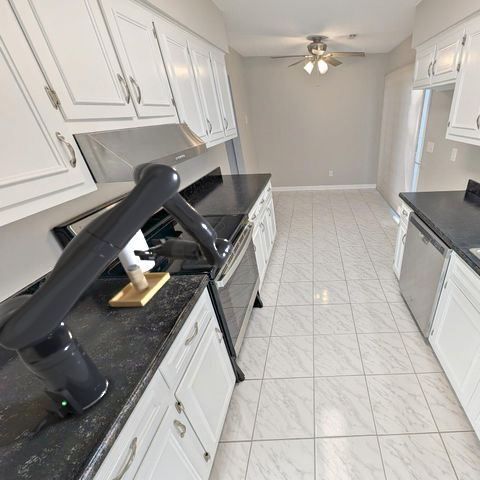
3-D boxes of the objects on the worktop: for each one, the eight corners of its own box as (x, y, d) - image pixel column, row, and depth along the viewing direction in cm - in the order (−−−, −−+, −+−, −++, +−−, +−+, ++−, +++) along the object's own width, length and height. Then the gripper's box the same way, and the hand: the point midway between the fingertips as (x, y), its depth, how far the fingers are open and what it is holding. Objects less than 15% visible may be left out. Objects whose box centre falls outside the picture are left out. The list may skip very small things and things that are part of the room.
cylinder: (123, 268, 128) (100, 223, 116) (150, 258, 136) (131, 215, 124) (130, 277, 120) (106, 230, 109) (158, 265, 128) (139, 220, 117)
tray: (143, 306, 102) (140, 301, 100) (111, 306, 103) (108, 301, 101) (170, 277, 119) (168, 272, 118) (142, 277, 120) (140, 273, 119)
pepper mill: (143, 293, 108) (131, 270, 102) (133, 292, 109) (121, 269, 103) (152, 286, 112) (141, 263, 107) (142, 285, 113) (132, 263, 108)
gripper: (189, 232, 99) (154, 230, 102) (162, 250, 86) (123, 247, 90) (195, 249, 102) (161, 246, 106) (169, 268, 90) (132, 265, 93)
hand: (144, 247), depth 98 cm, fingers open, 8 cm apart
